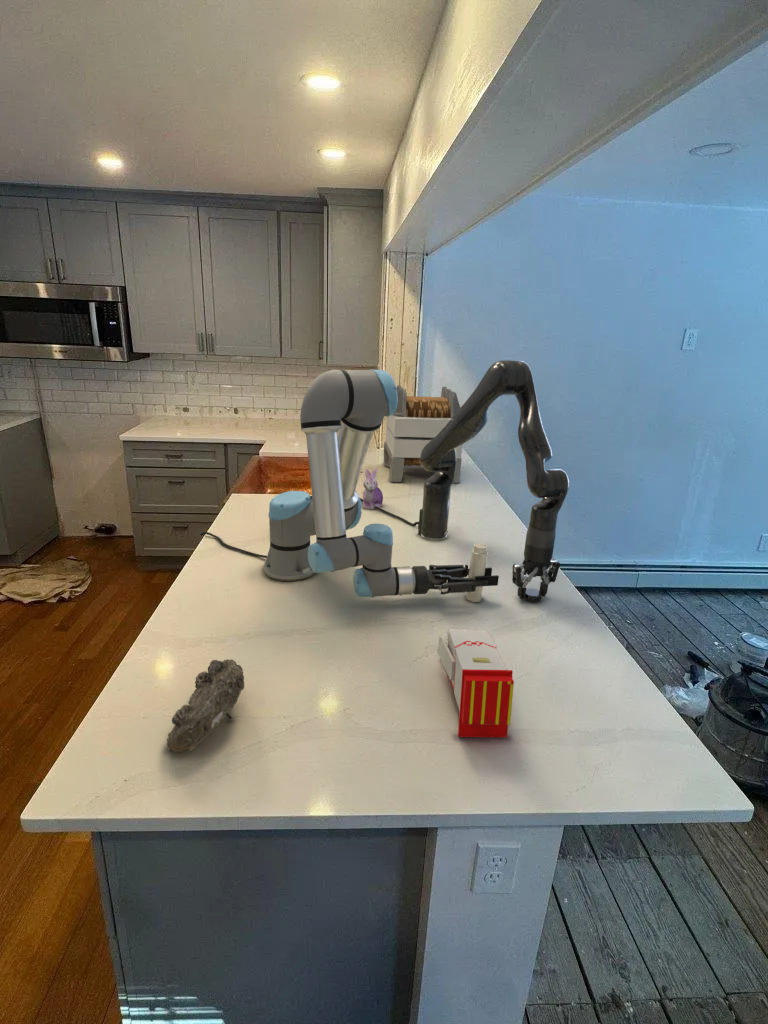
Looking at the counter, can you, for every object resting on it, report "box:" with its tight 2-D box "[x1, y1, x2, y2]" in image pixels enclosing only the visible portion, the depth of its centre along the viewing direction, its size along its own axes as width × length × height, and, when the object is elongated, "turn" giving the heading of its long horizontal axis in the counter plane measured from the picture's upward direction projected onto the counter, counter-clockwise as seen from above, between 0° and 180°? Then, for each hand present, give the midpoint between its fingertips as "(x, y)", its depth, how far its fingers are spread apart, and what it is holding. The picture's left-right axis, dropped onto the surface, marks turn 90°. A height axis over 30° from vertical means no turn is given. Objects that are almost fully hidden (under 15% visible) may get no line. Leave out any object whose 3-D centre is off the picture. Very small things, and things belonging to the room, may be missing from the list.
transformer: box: [383, 384, 463, 484], centre depth 268 cm, size 34×33×41 cm
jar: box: [465, 542, 488, 603], centre depth 155 cm, size 4×4×16 cm
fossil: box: [166, 658, 245, 754], centre depth 106 cm, size 22×10×15 cm
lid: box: [524, 587, 542, 604], centre depth 158 cm, size 5×5×2 cm
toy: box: [437, 628, 515, 738], centre depth 117 cm, size 12×13×30 cm
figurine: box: [361, 468, 384, 510], centre depth 224 cm, size 9×10×15 cm
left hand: (494, 576), depth 156 cm, fingers closed on jar, 4 cm apart
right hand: (531, 596), depth 159 cm, fingers open, 6 cm apart
